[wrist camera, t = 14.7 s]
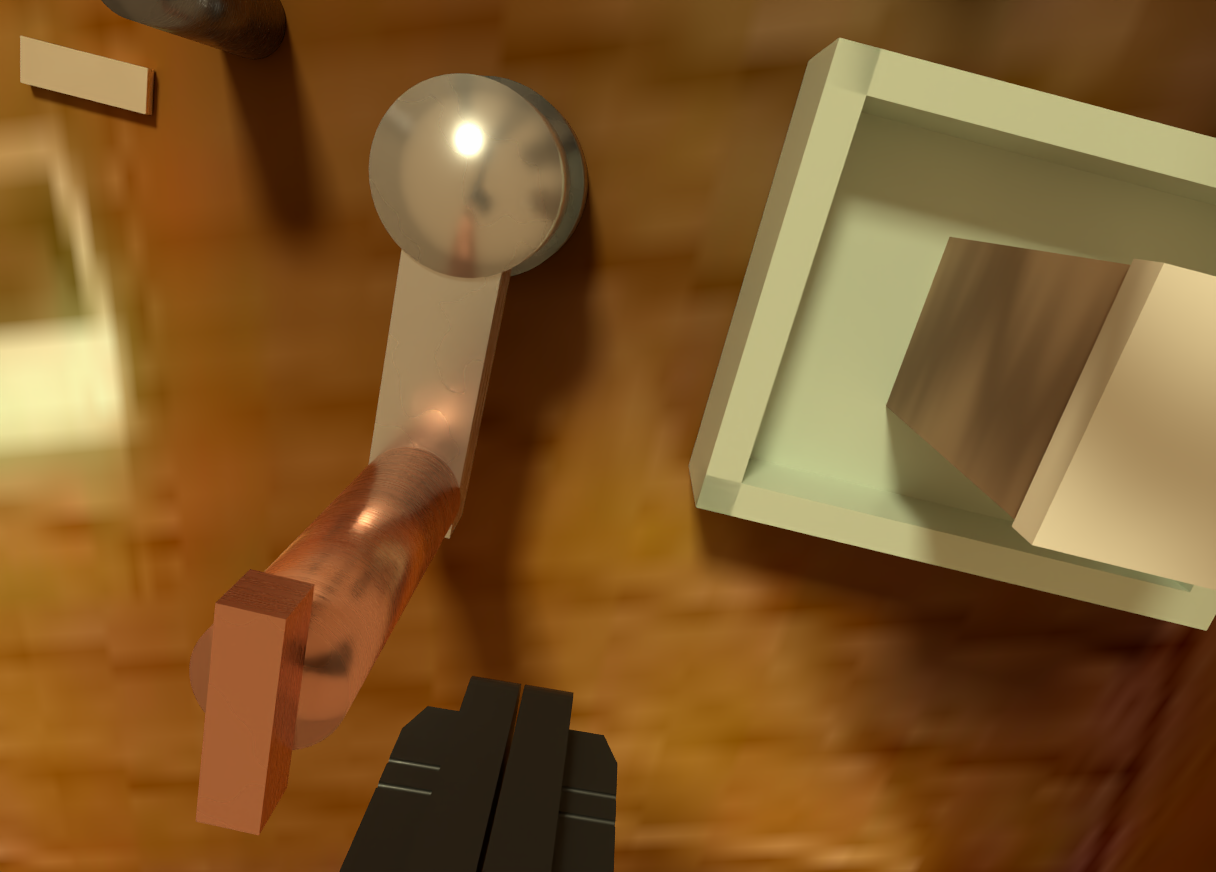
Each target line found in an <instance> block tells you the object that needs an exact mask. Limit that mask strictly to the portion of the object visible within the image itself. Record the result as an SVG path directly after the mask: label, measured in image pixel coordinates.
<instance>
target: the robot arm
mask: <svg viewBox="0 0 1216 872" xmlns="http://www.w3.org/2000/svg"><path fill="white" fill-rule="evenodd" d="M520 689H521V684H517V683H511V682H505V681H499V680H493V679H487V678H481V677H476V676H472V677H471V679H470V682H469V685H468V688H467V691H466V693H465V696H464V699H463V702H462V705H461V708H460V711H453V710H447V709H441V708H435V707H430V706H427V707H426V708H425V709H424V710H423V711H422V712H421V713H419V714H418V715H417V716H416V717H415V718H414V719H413V720H411V721H410V722H409V723H408V724H407V725H406V726H405V727H403V728H402V730H401V733H400V735H399V737H398V740H397V742H396V744H395V746H394V749H393V751H392V753H391V755H390V759H389V762H388V763H387V765H386V767H385V769H384V771H383V774H382V776H381V778H380V780H379V784H378V788H376V790H375V792H374V794H373V796H372V799H371V801H370V803H369V806H368V808H367V810H366V812H365V815H364V817H363V819H362V821H361V824H360V826H359V828H358V831H357V833H356V835H355V837H354V840H353V842H352V844H351V847H350V849H349V851H348V853H347V856H346V858H345V860H344V862H343V865H342V867H341V869H340V872H614V847H615V817H616V801H615V800H616V787H617V762H616V760H615V758H614V756H613V754H612V752H611V750H610V747H609V745H608V743H607V741H606V739H605V737H604V735H599V734H593V733H587V732H581V731H575V730H569V725H570V717H571V709H572V702H573V693H572V692H566V691H560V690H554V689H548V688H542V687H536V686H530V685H525V687H524V691H523V695H522V700H521V704H520V708H519V713H518V717H517V722H516V715H517V709H518V703H519V696H520ZM515 722H516V726H515ZM514 728H515V730H514ZM513 734H514V735H513Z"/></svg>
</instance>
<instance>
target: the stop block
mask: <svg viewBox="0 0 1216 872" xmlns="http://www.w3.org/2000/svg"><path fill="white" fill-rule="evenodd" d="M886 407H888V408H889V409H890V410H891V411H892V412H893V413H894V414H896V415H897V416H898V417H899V418H900V419H901V420H902V421H903V422H905V423H906V424H907V425H908V426H909V427H910V428H911V429H913V430H914V431H915V432H916V433H917V434H918V435H919V436H920V437H922V438H923V439H924V440H925V441H926V442H927V443H928V444H930V445H931V446H932V447H933V448H934V449H935V450H936V451H937V452H939V453H940V454H941V455H942V456H943V457H944V458H945V459H947V460H948V461H949V462H950V463H951V464H952V465H953V466H954V467H956V468H957V469H958V470H959V471H960V472H961V473H962V474H963V475H965V476H966V477H967V478H968V479H969V480H970V481H971V482H973V483H974V484H975V485H976V486H977V487H978V488H979V489H980V490H982V491H983V492H984V493H985V494H986V495H987V496H988V497H990V498H991V499H992V500H993V501H994V502H995V503H996V504H997V505H999V506H1000V507H1001V508H1002V509H1003V510H1004V511H1005V512H1007V513H1008V514H1009V515H1010V516H1011V517H1012V518H1013V519H1014V522H1013V524H1012V527H1013V528H1014V529H1015V530H1016V531H1017V532H1018V533H1019V534H1020V535H1021V536H1023V537H1024V538H1025V539H1026V540H1027V541H1028V542H1029V543H1030V544H1031V545H1034V546H1038V547H1042V548H1046V549H1050V550H1054V551H1058V552H1062V553H1066V554H1071V555H1075V556H1079V557H1083V558H1087V559H1091V560H1095V561H1099V562H1103V563H1107V564H1111V565H1115V566H1119V567H1123V568H1127V569H1132V570H1136V571H1140V572H1144V573H1148V574H1152V575H1156V576H1160V577H1164V578H1168V579H1172V580H1176V581H1180V582H1184V583H1188V584H1192V585H1197V586H1201V587H1205V588H1209V589H1213V590H1216V276H1212V275H1208V274H1205V273H1201V272H1197V271H1193V270H1189V269H1186V268H1182V267H1178V266H1174V265H1170V264H1167V263H1162V262H1154V261H1147V260H1140V259H1133V261H1132V263H1131V265H1128V264H1122V263H1116V262H1109V261H1103V260H1096V259H1090V258H1084V257H1077V256H1071V255H1064V254H1058V253H1051V252H1045V251H1039V250H1032V249H1026V248H1019V247H1013V246H1007V245H1000V244H994V243H987V242H981V241H974V240H968V239H962V238H955V237H949V240H948V242H947V245H946V247H945V250H944V253H943V255H942V258H941V261H940V263H939V266H938V269H937V271H936V274H935V277H934V279H933V282H932V285H931V287H930V290H929V293H928V295H927V298H926V301H925V303H924V306H923V308H922V311H921V314H920V316H919V319H918V322H917V324H916V327H915V330H914V332H913V335H912V338H911V340H910V343H909V346H908V348H907V351H906V354H905V356H904V359H903V362H902V364H901V367H900V370H899V372H898V375H897V377H896V380H895V383H894V385H893V388H892V391H891V393H890V396H889V399H888V401H887V404H886Z"/></svg>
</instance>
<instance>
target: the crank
mask: <svg viewBox="0 0 1216 872" xmlns="http://www.w3.org/2000/svg"><path fill="white" fill-rule="evenodd" d="M369 181H370V188H371V193H372V198H373V201H374V204H375V207H376V210H377V212H378V215H379V217H380V219H381V221H382V223H383V225H384V226H385V228H386V230H387V231H388V233H389V234H390V235H391V237H392V238H393V239H394V241H395V242H396V243H397V244H398V245H399V246H400V247H401V248H402V251H401V258H400V264H399V271H398V277H397V284H396V290H395V297H394V303H393V310H392V316H391V323H390V329H389V336H388V342H387V349H386V355H385V362H384V368H383V375H382V382H381V388H380V395H379V401H378V408H377V414H376V421H375V427H374V434H373V440H372V447H371V453H370V460H369V465H368V466H367V467H366V468H365V469H364V470H363V471H362V472H361V473H360V474H359V475H358V476H357V477H356V479H355V480H354V481H353V482H352V483H351V484H350V485H349V486H348V487H347V488H346V489H345V490H344V491H343V492H342V493H341V494H340V495H339V496H338V497H337V498H336V499H335V500H334V501H333V502H332V503H331V504H330V505H329V506H328V507H327V508H326V509H325V510H324V511H323V512H322V513H321V514H320V515H319V516H318V517H317V518H316V519H315V520H314V521H313V522H312V524H311V525H310V526H309V527H308V528H307V529H306V530H305V531H304V532H303V533H302V534H301V535H300V536H299V537H298V538H297V539H296V540H295V541H294V542H293V543H292V544H291V545H290V546H289V547H288V548H287V549H286V550H285V551H284V552H283V553H282V554H281V555H280V556H279V557H278V558H277V559H276V560H275V561H274V562H273V563H272V564H271V565H270V566H269V567H268V569H267V570H266V571H265V572H260V571H256V570H251V569H250V570H249V571H248V572H247V573H246V574H245V575H244V576H243V577H242V578H241V579H240V580H239V581H238V582H237V583H236V584H235V585H234V586H233V587H232V588H231V589H230V590H228V591H227V592H226V593H225V594H224V595H223V596H222V597H221V598H220V599H219V600H218V601H217V602H216V604H215V615H214V624H213V625H212V626H211V627H210V628H209V629H208V630H207V631H206V632H205V633H204V634H203V635H202V636H201V638H200V639H199V640H198V642H197V644H196V646H195V647H194V650H193V653H192V656H191V660H190V681H191V686H192V689H193V693H194V695H195V697H196V699H197V701H198V703H199V705H200V706H201V708H202V709H203V711H204V712H205V713H206V714H205V726H204V737H203V748H202V759H201V770H200V781H199V792H198V803H197V814H196V822H201V823H206V824H210V825H215V826H219V827H224V828H228V829H233V830H237V831H242V832H246V833H251V834H255V835H259V834H260V833H261V831H262V829H263V828H264V826H265V824H266V823H267V821H268V819H269V817H270V816H271V814H272V812H273V811H274V809H275V807H276V805H277V804H278V802H279V800H280V799H281V797H282V795H283V794H284V792H285V790H286V788H287V784H288V777H289V769H290V762H291V755H292V750H296V749H302V748H305V747H309V746H312V745H314V744H316V743H318V742H320V741H322V740H324V739H325V738H327V737H328V736H329V735H330V734H332V733H333V732H334V731H335V730H336V728H337V727H338V726H339V725H340V723H341V722H342V720H343V719H344V717H345V715H346V713H347V711H348V710H349V708H350V706H351V704H352V702H353V701H354V699H355V697H356V695H357V693H358V692H359V690H360V688H361V686H362V684H363V683H364V681H365V679H366V677H367V676H368V674H369V672H370V670H371V668H372V667H373V665H374V663H375V661H376V659H377V658H378V656H379V654H380V652H381V650H382V649H383V647H384V645H385V643H386V641H387V640H388V638H389V636H390V634H391V632H392V631H393V629H394V627H395V625H396V624H397V622H398V620H399V618H400V616H401V615H402V613H403V611H404V609H405V607H406V606H407V604H408V602H409V600H410V598H411V597H412V595H413V593H414V591H415V589H416V588H417V586H418V584H419V582H420V580H421V579H422V577H423V575H424V573H425V572H426V570H427V568H428V566H429V564H430V563H431V561H432V559H433V557H434V555H435V554H436V552H437V550H438V548H439V546H440V545H441V543H442V541H443V539H444V538H449V539H450V537H451V535H452V533H453V531H454V529H455V528H456V526H457V524H458V522H459V520H460V518H461V517H462V515H463V511H464V505H465V500H466V495H467V490H468V485H469V480H470V475H471V470H472V465H473V460H474V455H475V450H476V445H477V440H478V435H479V430H480V425H481V420H482V415H483V410H484V405H485V400H486V395H487V390H488V385H489V380H490V375H491V370H492V365H493V360H494V355H495V350H496V345H497V340H498V335H499V330H500V325H501V320H502V315H503V310H504V305H505V300H506V295H507V290H508V285H509V280H510V275H511V270H512V268H513V267H514V266H516V265H518V264H520V263H521V262H523V261H524V260H526V259H528V258H529V257H531V256H532V255H534V254H535V253H536V252H538V251H539V250H541V249H542V248H543V247H544V246H545V245H546V244H547V243H548V242H549V240H550V239H551V238H552V237H553V235H554V234H555V233H556V231H557V229H558V228H559V226H560V224H561V222H562V220H563V218H564V215H565V213H566V209H567V206H568V202H569V196H570V184H571V177H570V167H569V163H568V158H567V154H566V151H565V149H564V146H563V143H562V141H561V139H560V137H559V135H558V133H557V132H556V130H555V129H554V127H553V126H552V124H551V123H550V122H549V120H548V119H547V118H546V117H545V116H544V115H543V114H542V113H541V112H540V111H539V110H538V109H537V108H536V107H534V106H533V105H532V104H531V103H529V102H528V101H527V100H526V99H524V98H523V97H522V96H521V95H519V94H518V93H516V92H515V91H513V90H512V89H510V88H509V87H507V86H505V85H503V84H501V83H499V82H497V81H495V80H492V79H489V78H486V77H483V76H478V75H473V74H447V75H441V76H437V77H433V78H430V79H428V80H426V81H423V82H421V83H419V84H417V85H415V86H414V87H412V88H410V89H409V90H408V91H406V92H405V93H404V94H403V95H401V96H400V97H399V98H398V99H397V100H396V101H395V102H394V103H393V105H392V106H391V107H390V108H389V109H388V111H387V112H386V114H385V115H384V117H383V118H382V120H381V122H380V124H379V126H378V128H377V131H376V133H375V136H374V139H373V142H372V147H371V152H370V160H369Z"/></svg>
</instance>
